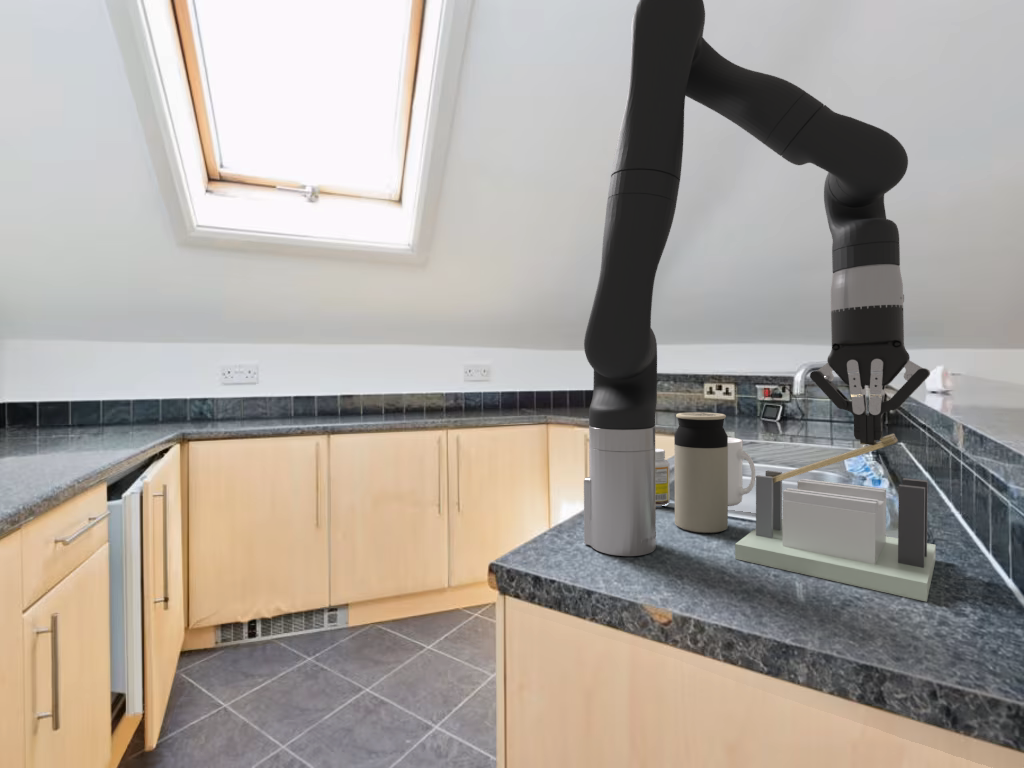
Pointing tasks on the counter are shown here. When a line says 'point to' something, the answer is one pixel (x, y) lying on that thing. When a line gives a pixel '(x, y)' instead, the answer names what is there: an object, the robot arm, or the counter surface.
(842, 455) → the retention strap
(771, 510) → the board
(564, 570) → the counter surface
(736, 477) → the mug
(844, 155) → the robot arm
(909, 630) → the counter surface
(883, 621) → the counter surface
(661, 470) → the supplement bottle
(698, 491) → the travel mug
